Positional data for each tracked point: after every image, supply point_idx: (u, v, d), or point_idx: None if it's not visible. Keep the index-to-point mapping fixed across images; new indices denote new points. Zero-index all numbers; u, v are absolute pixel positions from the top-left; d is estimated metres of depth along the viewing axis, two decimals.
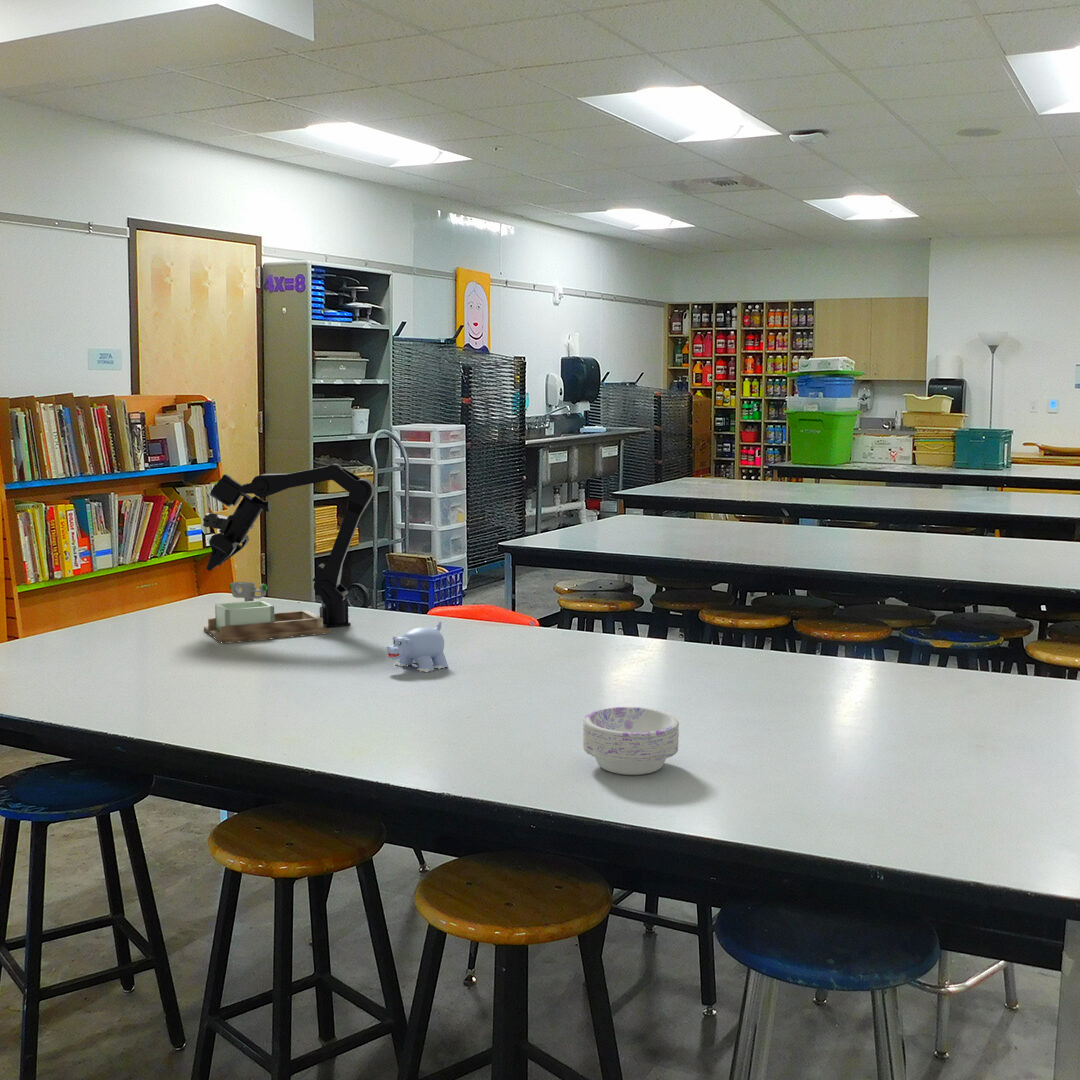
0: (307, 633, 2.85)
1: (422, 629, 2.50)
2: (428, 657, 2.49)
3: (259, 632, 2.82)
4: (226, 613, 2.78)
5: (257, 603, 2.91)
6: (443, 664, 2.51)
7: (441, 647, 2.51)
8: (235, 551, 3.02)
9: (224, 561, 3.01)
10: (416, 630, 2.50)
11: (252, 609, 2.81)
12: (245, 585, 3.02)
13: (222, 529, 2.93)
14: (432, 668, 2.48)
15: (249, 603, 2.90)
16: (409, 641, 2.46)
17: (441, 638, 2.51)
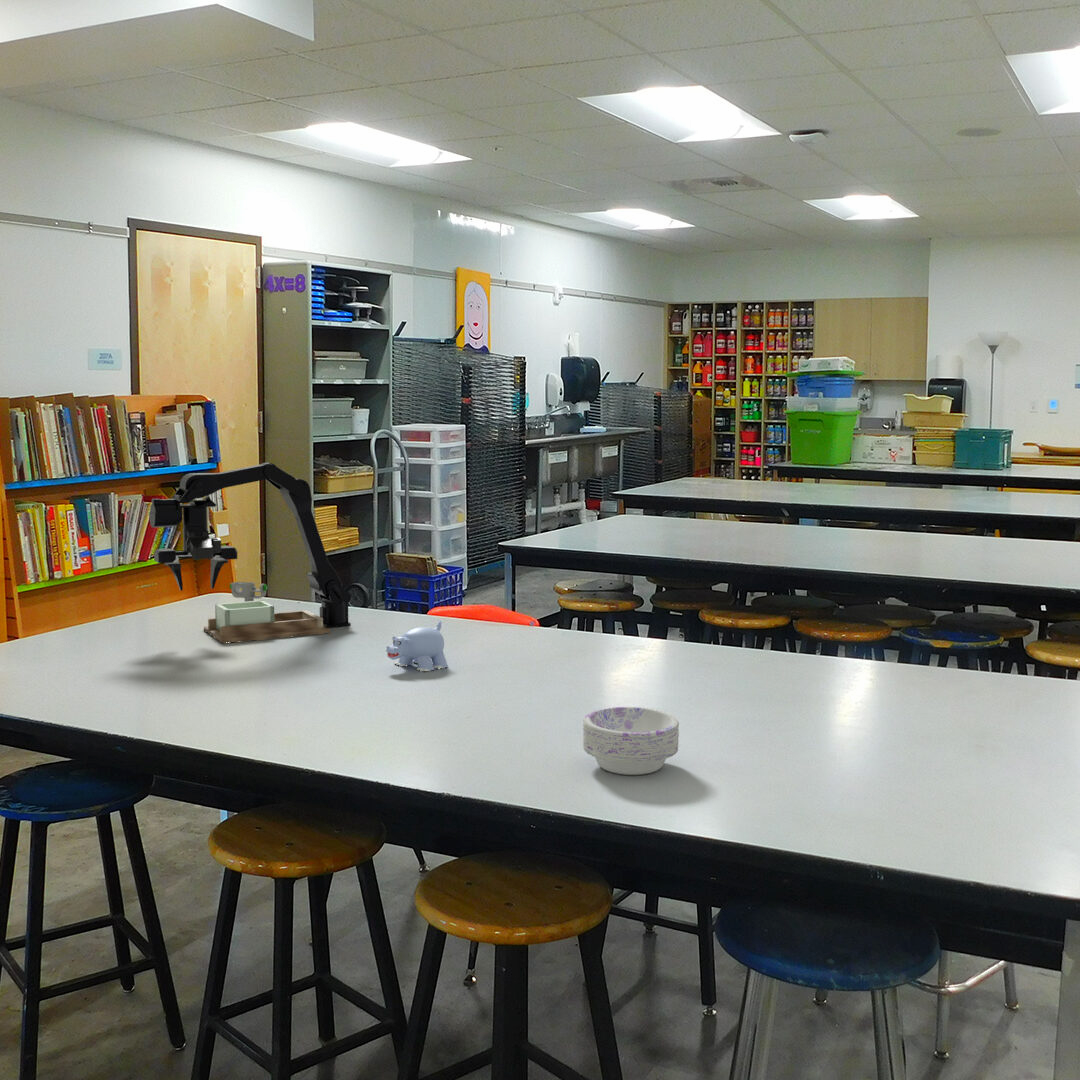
0: (307, 633, 2.85)
1: (422, 629, 2.50)
2: (428, 657, 2.49)
3: (259, 632, 2.82)
4: (226, 613, 2.78)
5: (257, 603, 2.91)
6: (443, 664, 2.51)
7: (441, 647, 2.51)
8: None
9: None
10: (416, 630, 2.50)
11: (252, 609, 2.81)
12: (245, 585, 3.02)
13: None
14: (432, 668, 2.48)
15: (249, 603, 2.90)
16: (409, 641, 2.46)
17: (441, 638, 2.51)
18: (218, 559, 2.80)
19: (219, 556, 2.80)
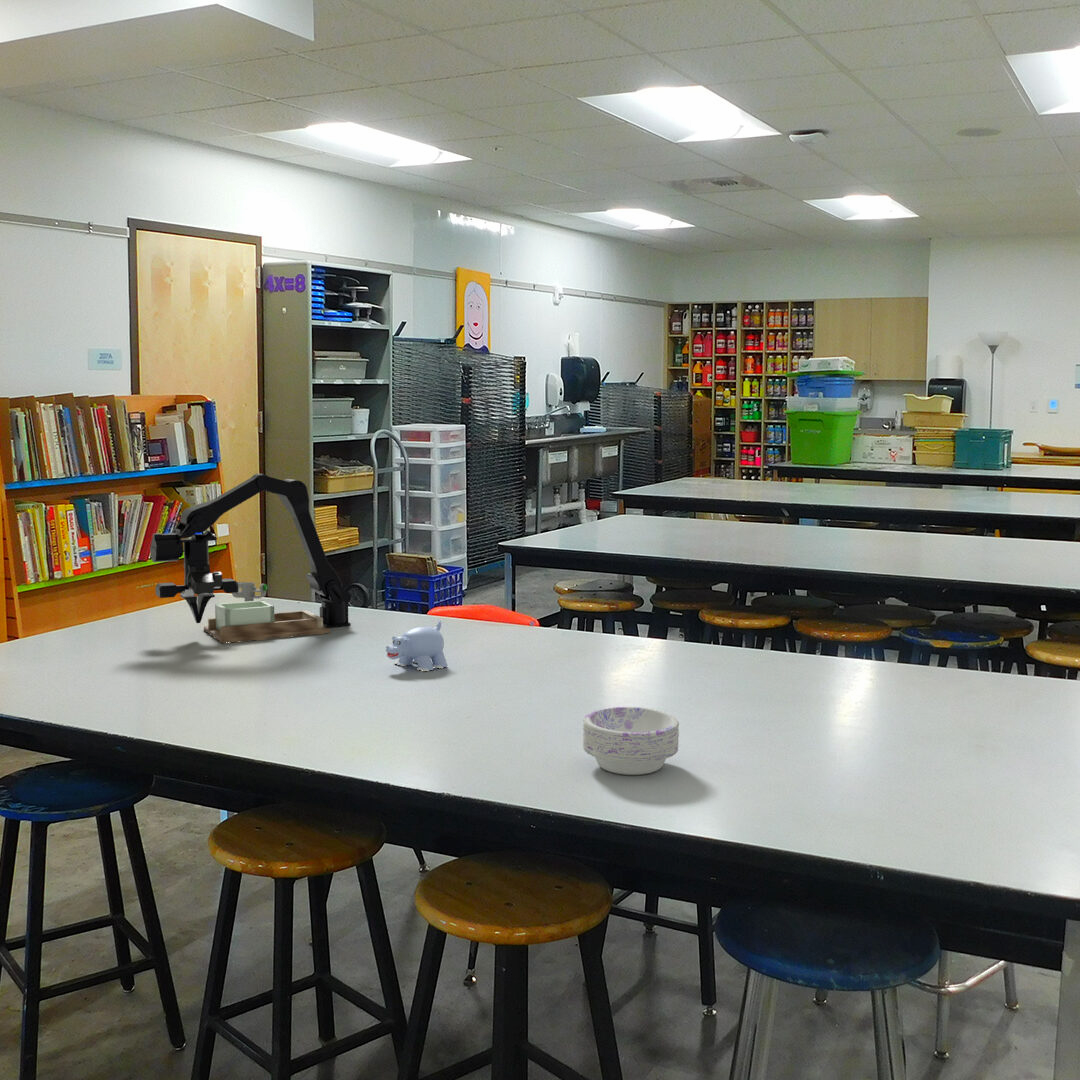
0: (307, 633, 2.85)
1: (421, 629, 2.51)
2: (427, 657, 2.49)
3: (259, 632, 2.82)
4: (226, 613, 2.78)
5: (257, 603, 2.91)
6: (442, 664, 2.51)
7: (440, 647, 2.51)
8: None
9: None
10: (415, 630, 2.50)
11: (252, 609, 2.81)
12: (245, 585, 3.02)
13: None
14: (431, 668, 2.48)
15: (249, 603, 2.90)
16: (408, 641, 2.46)
17: (440, 638, 2.52)
18: (204, 593, 2.79)
19: None
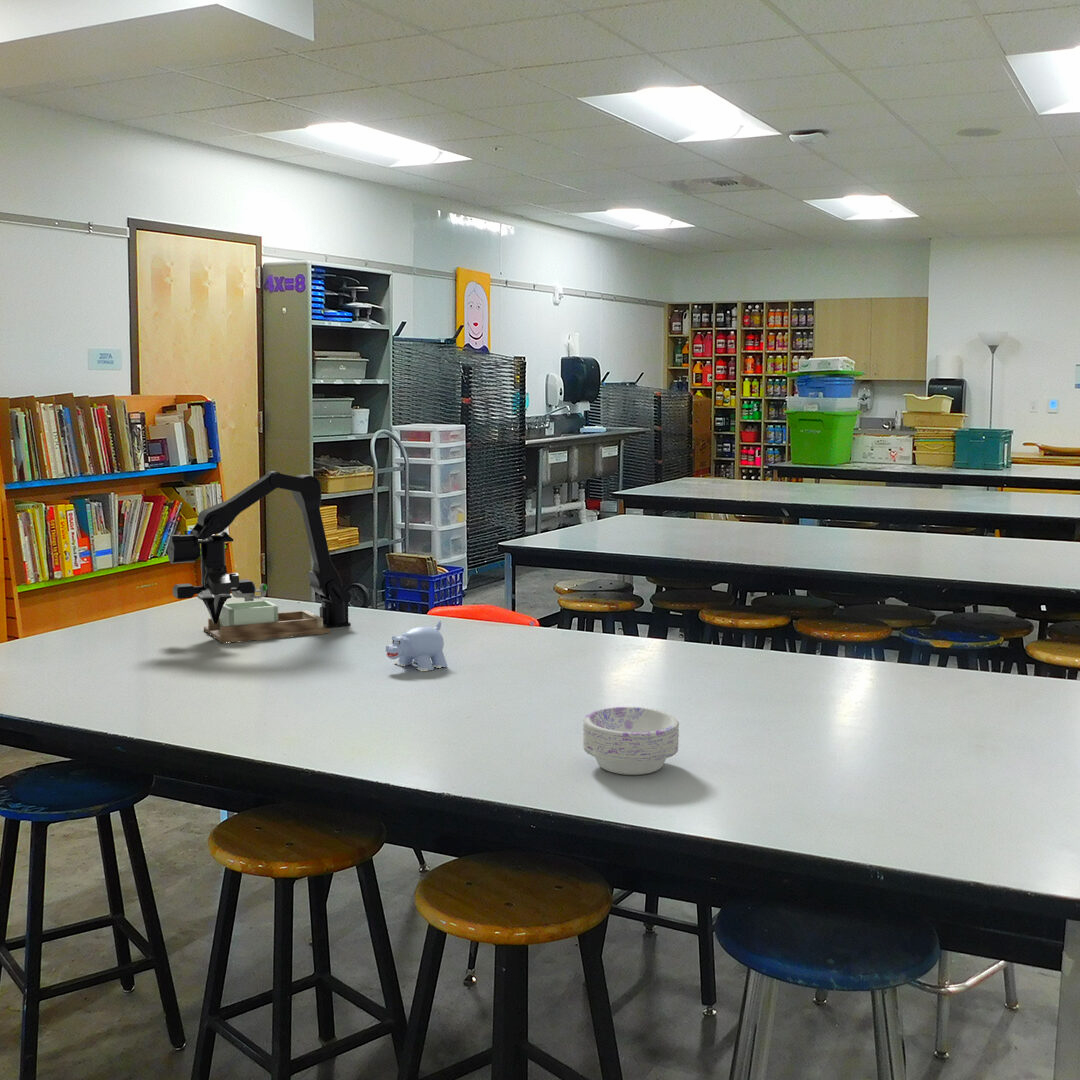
0: (307, 633, 2.85)
1: (421, 629, 2.51)
2: (427, 657, 2.49)
3: (259, 632, 2.82)
4: (230, 613, 2.79)
5: (261, 602, 2.92)
6: (442, 664, 2.51)
7: (440, 647, 2.51)
8: None
9: None
10: (415, 630, 2.50)
11: (256, 609, 2.82)
12: None
13: None
14: (431, 668, 2.49)
15: (253, 603, 2.91)
16: (408, 641, 2.46)
17: (440, 638, 2.52)
18: (221, 594, 2.81)
19: None
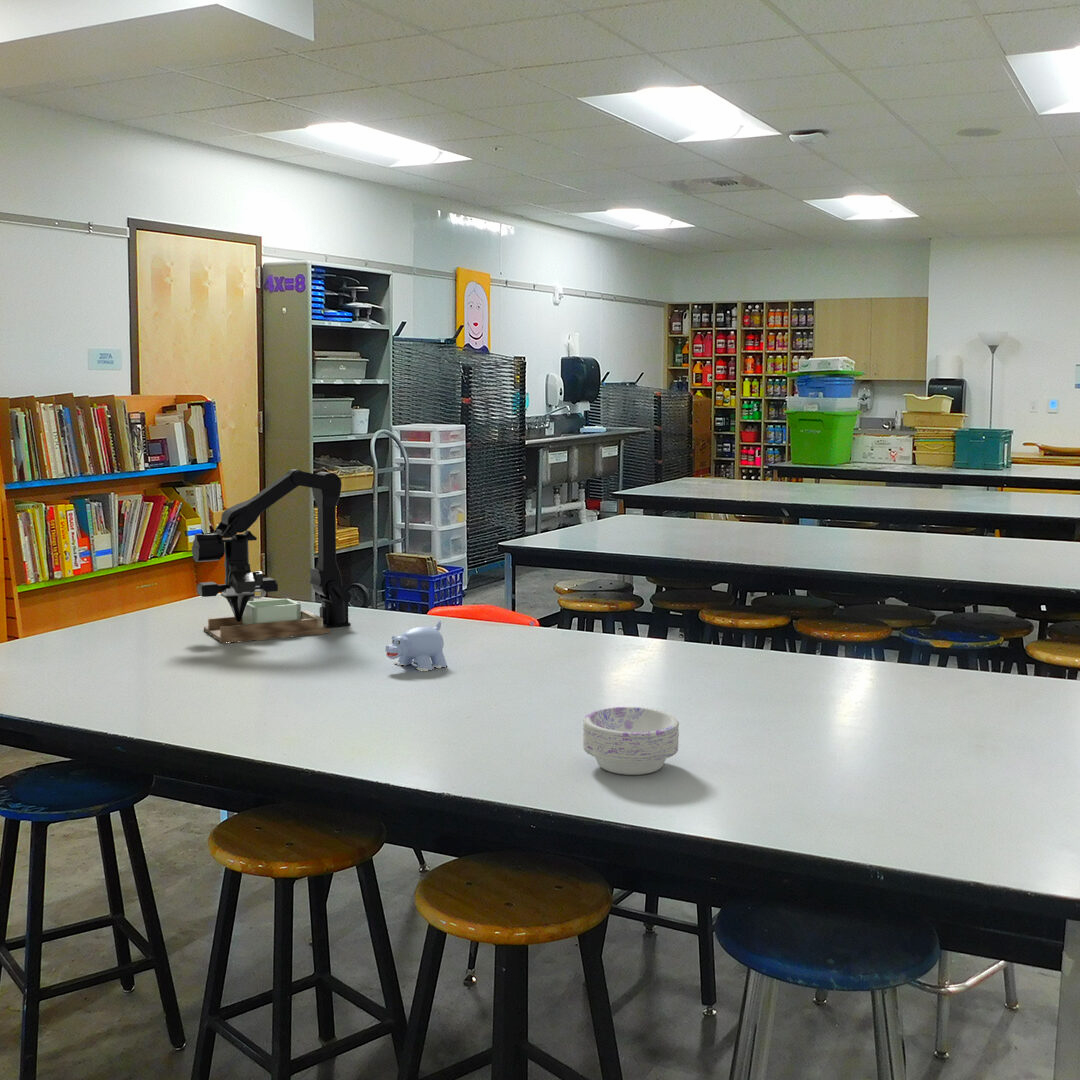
0: (307, 633, 2.85)
1: (421, 629, 2.51)
2: (427, 656, 2.49)
3: (259, 632, 2.82)
4: (254, 611, 2.82)
5: (283, 601, 2.94)
6: (442, 664, 2.51)
7: (440, 647, 2.51)
8: None
9: None
10: (415, 629, 2.50)
11: (279, 607, 2.85)
12: None
13: None
14: (431, 667, 2.49)
15: (275, 601, 2.93)
16: (408, 640, 2.47)
17: (440, 638, 2.52)
18: (245, 592, 2.84)
19: None
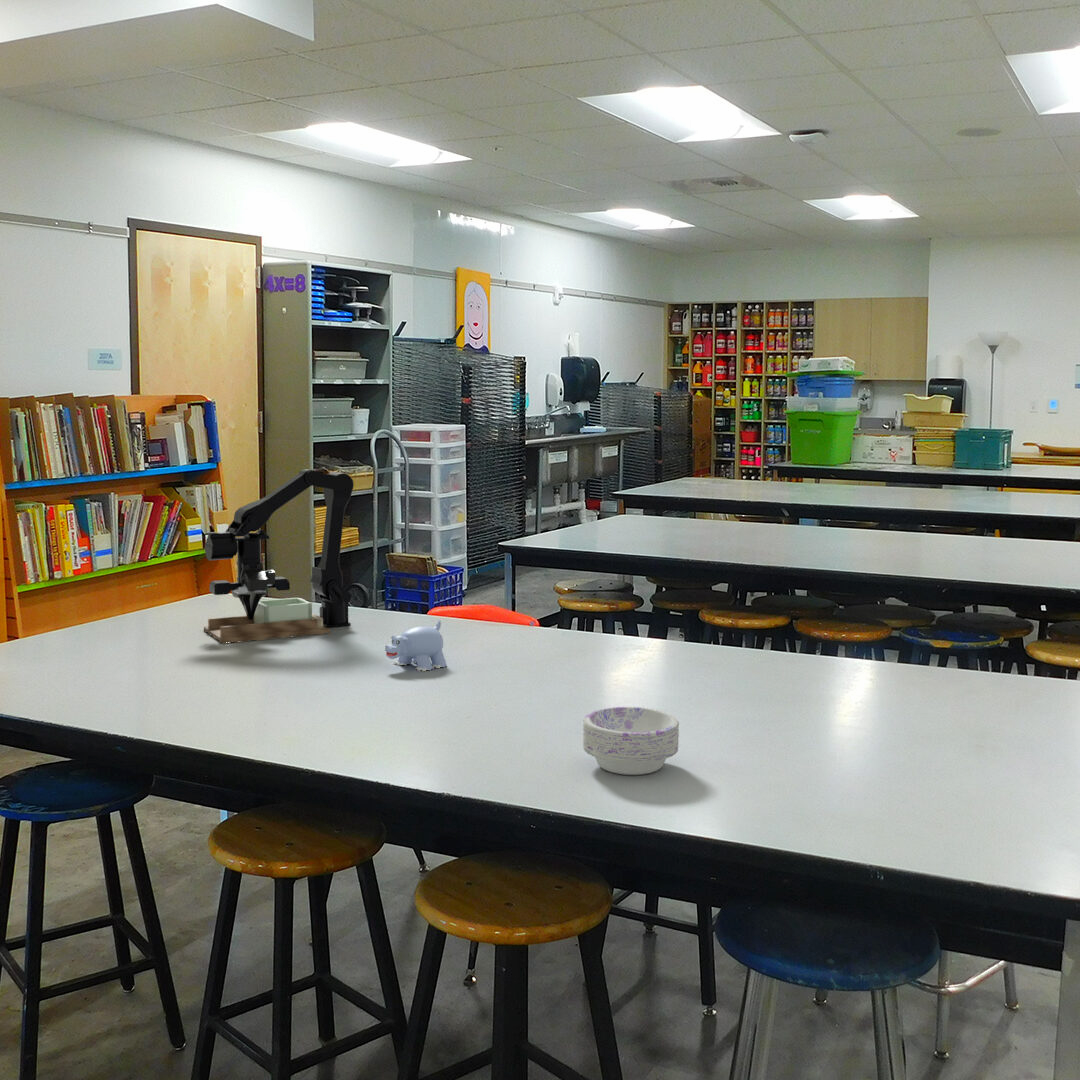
0: (307, 633, 2.85)
1: (421, 628, 2.51)
2: (426, 656, 2.49)
3: (259, 632, 2.82)
4: (265, 610, 2.83)
5: (294, 600, 2.96)
6: (441, 664, 2.51)
7: (440, 646, 2.51)
8: None
9: None
10: (415, 629, 2.51)
11: (290, 606, 2.86)
12: None
13: None
14: (430, 667, 2.49)
15: (286, 600, 2.95)
16: (407, 640, 2.47)
17: (440, 637, 2.52)
18: (257, 591, 2.85)
19: None
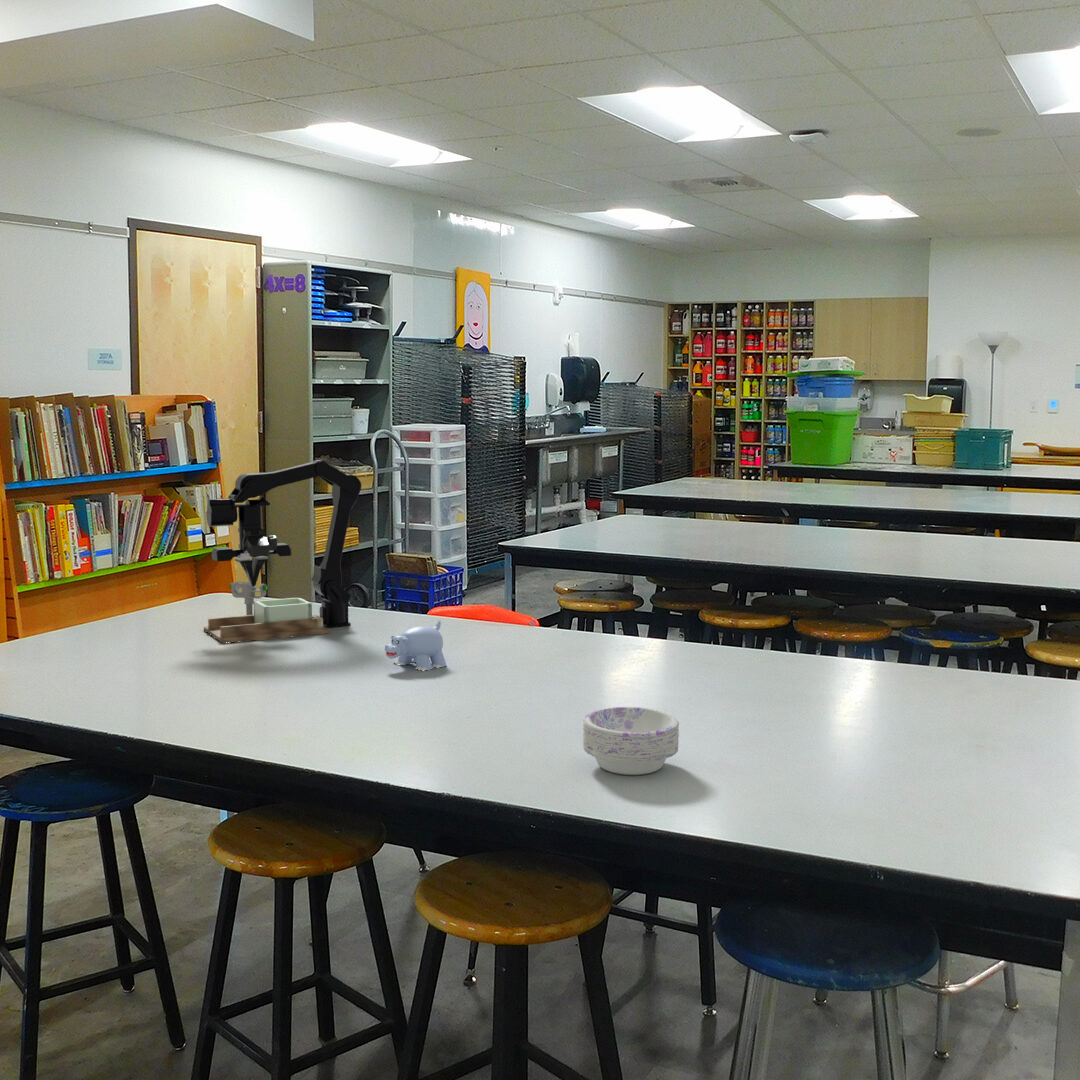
0: (307, 633, 2.85)
1: (421, 628, 2.51)
2: (426, 656, 2.50)
3: (259, 632, 2.82)
4: (265, 610, 2.83)
5: (294, 600, 2.96)
6: (441, 663, 2.52)
7: (439, 646, 2.52)
8: None
9: None
10: (414, 629, 2.51)
11: (290, 606, 2.86)
12: (245, 585, 3.02)
13: None
14: (430, 667, 2.49)
15: (286, 600, 2.95)
16: (407, 640, 2.47)
17: (439, 637, 2.52)
18: (259, 557, 2.87)
19: None
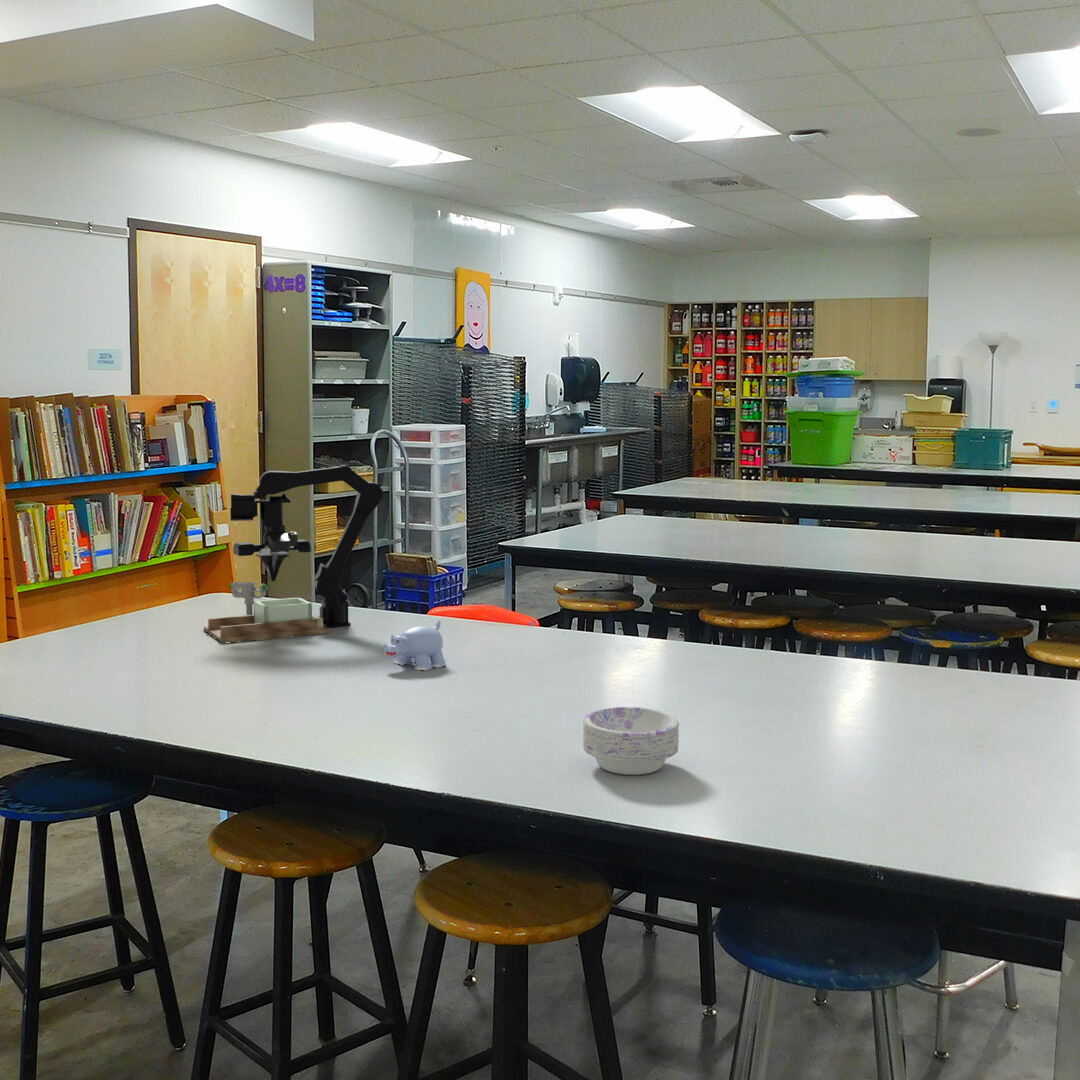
0: (307, 633, 2.85)
1: (420, 628, 2.51)
2: (426, 656, 2.50)
3: (259, 632, 2.82)
4: (265, 610, 2.83)
5: (294, 600, 2.96)
6: (441, 663, 2.52)
7: (439, 646, 2.52)
8: None
9: None
10: (414, 629, 2.51)
11: (290, 606, 2.86)
12: (245, 585, 3.02)
13: None
14: (429, 667, 2.49)
15: (286, 600, 2.95)
16: (406, 640, 2.47)
17: (439, 637, 2.52)
18: (279, 553, 2.93)
19: None
